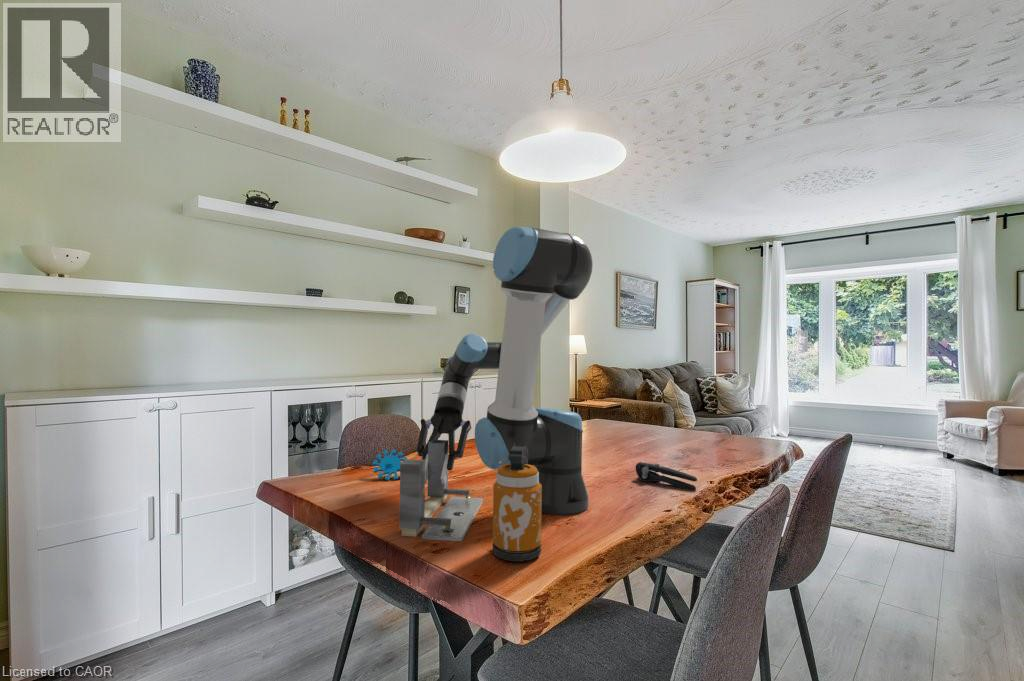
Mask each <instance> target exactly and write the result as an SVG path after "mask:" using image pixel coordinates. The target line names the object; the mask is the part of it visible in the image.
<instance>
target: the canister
mask: <svg viewBox="0 0 1024 681" xmlns="http://www.w3.org/2000/svg"><path fill="white" fill-rule="evenodd" d="M526 454H527V457H526ZM507 459H508V460H507ZM505 460H506V461H505ZM509 460H510V463H511V464H505V465H502V466H500V467H499V468H498V470H496V478H495V479H496V480H495V481H496V482H494V483H493V486H492V487H493V492H492V494H493V496H492V498H493V499H492V552H493V554H494V556H496V557H498V558H500V559H502V560H506V561H509V562H516V561H519V562H525V561H524V560H526V561H529V560H533V559H536V558H538V557H539V555H540V554H541V552H542V544H541V543H542V512H541V503H542V485H541V484H540V483H539V472H538V470H537V468H536V467H534V465H528V449H527V445H526V443H525V447H519V446H516V445H515V443H514V446H513V448H512V449H510V454H509V455H508V458H506V459H504V460H502V461H500V462H499V464H502V463H505V462H507V461H509ZM503 461H504V462H503ZM525 463H526V464H525Z"/></svg>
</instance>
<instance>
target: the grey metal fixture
mask: <svg viewBox="0 0 1024 681" xmlns="http://www.w3.org/2000/svg"><path fill="white" fill-rule="evenodd" d="M425 497H426V483H425V460H422V459H415V458H407V459H406V460H405V461H401V463H400V472H399V517H398V518H399V522H398V523H399V524H398V525H399V526H398V527H399V529H401V537H412V536H413V538H414V537H415V538H416V537H418V535H419V534H420V532H422V530H423V529H424V528H425V526H429V525H443V526H445V529H447V530H448V529H450V525H451V519H445V518H435V517H433V516H434V515H435V513H436V512H437V510H438V509H439V508H440V507H441V506H442V504H443V503H444V502H445V500H447V498H448V494H446V495H445V496H444V497H428V498H427V499H426V498H425Z"/></svg>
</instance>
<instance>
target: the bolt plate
mask: <svg viewBox="0 0 1024 681" xmlns="http://www.w3.org/2000/svg"><path fill="white" fill-rule="evenodd" d="M483 502H484V498H483V497H471V496H470V498H466V496H452V495H451V496H450V497H449V499H448V500H447V501H446V503H445V504H444V506H443V507H442V508H441V509H440V511H439V512H438V514H437V515H436V516H435V517H434V518H445V519H451V525H450V529H448V530H447V529H445V526H443V525H428V527H427V528H425V530H424V532H423V533H422V535H421V540H431V541H446V542H447V541H450V542H463V540H464V538H465V536H466V534H467V532H468V530H469V528H470V527H471V525H472V523H473V521H474V520H475V517H476V515H477V513H478V511H479V510H480V507H481V506H482V503H483Z"/></svg>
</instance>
